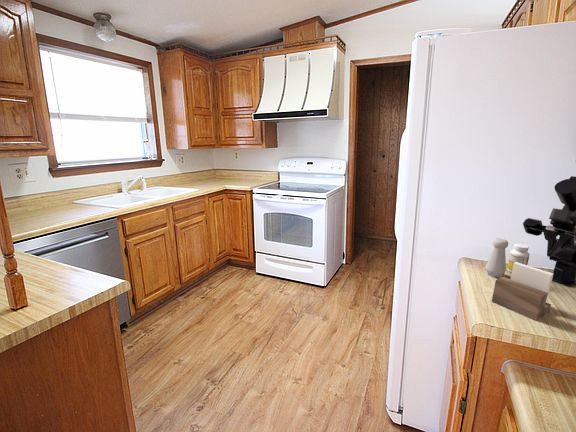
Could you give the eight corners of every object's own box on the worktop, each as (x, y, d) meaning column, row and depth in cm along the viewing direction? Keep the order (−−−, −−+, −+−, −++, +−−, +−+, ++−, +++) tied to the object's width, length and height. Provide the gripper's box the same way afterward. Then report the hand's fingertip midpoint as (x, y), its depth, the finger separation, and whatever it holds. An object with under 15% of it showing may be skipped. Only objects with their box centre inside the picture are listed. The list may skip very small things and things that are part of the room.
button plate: (512, 285, 95) (517, 261, 92) (548, 298, 87) (555, 272, 85) (508, 287, 93) (513, 263, 91) (544, 301, 86) (551, 275, 84)
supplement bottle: (517, 267, 113) (522, 242, 110) (529, 274, 108) (535, 248, 105) (503, 268, 113) (508, 242, 110) (514, 274, 108) (520, 248, 105)
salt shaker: (507, 279, 104) (515, 243, 101) (488, 278, 105) (495, 242, 102) (499, 272, 110) (506, 237, 106) (481, 270, 111) (488, 236, 107)
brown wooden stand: (505, 293, 96) (510, 272, 94) (549, 310, 87) (555, 288, 85) (491, 301, 92) (495, 280, 90) (535, 320, 83) (541, 297, 81)
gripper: (531, 193, 98) (507, 232, 95) (613, 205, 83) (587, 252, 80) (537, 213, 104) (515, 251, 102) (615, 228, 89) (590, 273, 86)
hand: (548, 256), depth 92 cm, fingers closed
